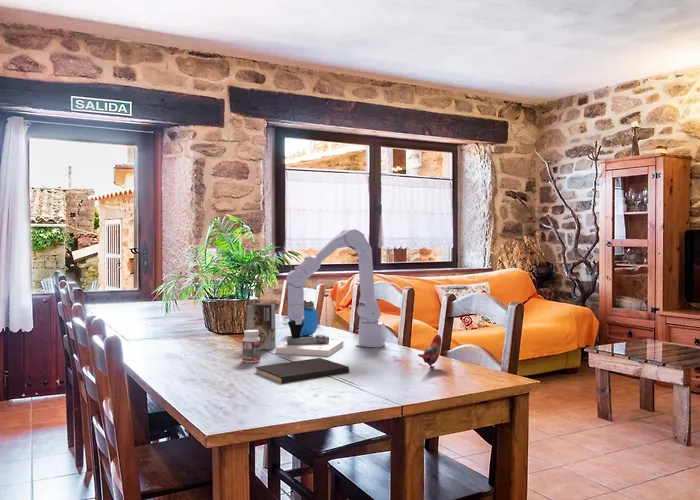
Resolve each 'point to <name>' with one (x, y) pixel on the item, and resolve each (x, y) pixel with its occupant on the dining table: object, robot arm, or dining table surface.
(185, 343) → the dining table surface
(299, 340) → the latch handle
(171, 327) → the dining table surface
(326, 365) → the hardcover book
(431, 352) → the decorative bird figurine
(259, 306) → the coffee box
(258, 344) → the pill bottle
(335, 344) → the cover plate
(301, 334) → the alarm clock
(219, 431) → the dining table surface
